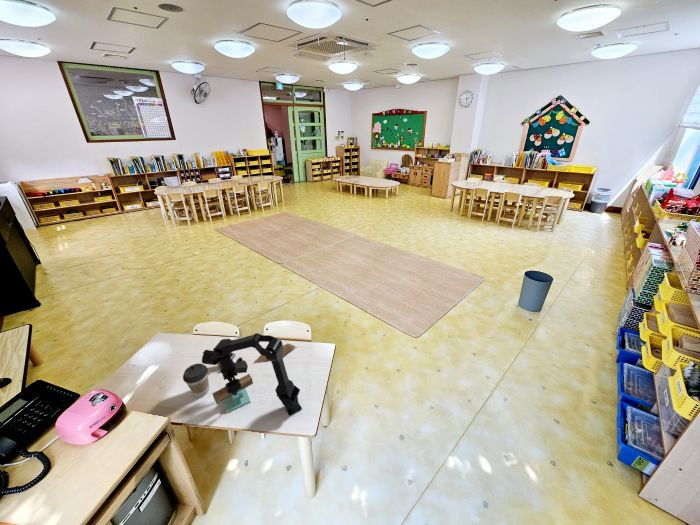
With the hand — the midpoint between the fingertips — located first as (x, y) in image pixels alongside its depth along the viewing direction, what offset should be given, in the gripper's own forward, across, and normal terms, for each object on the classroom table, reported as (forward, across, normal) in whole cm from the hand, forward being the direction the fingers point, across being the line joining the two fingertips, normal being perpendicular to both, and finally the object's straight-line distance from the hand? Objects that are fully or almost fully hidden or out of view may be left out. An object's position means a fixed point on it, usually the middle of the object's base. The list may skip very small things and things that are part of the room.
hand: (233, 388), depth 144 cm
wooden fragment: (+9, +20, -27) cm, 35 cm away
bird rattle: (+8, +27, +1) cm, 28 cm away
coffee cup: (+8, +15, +14) cm, 22 cm away
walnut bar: (+2, 0, 0) cm, 2 cm away
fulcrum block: (+8, 0, 0) cm, 8 cm away
